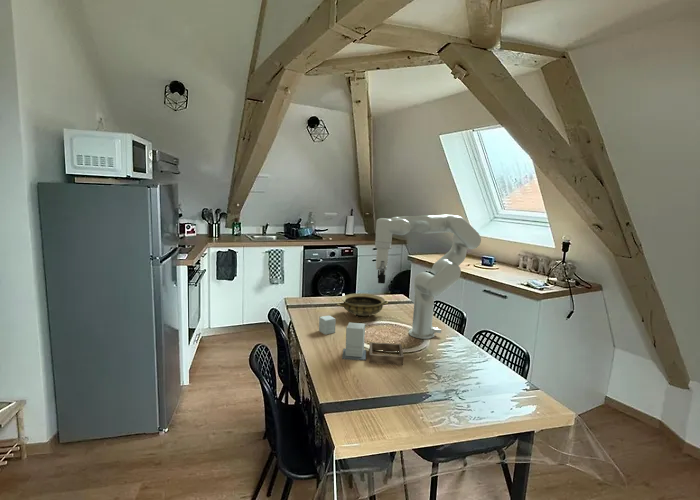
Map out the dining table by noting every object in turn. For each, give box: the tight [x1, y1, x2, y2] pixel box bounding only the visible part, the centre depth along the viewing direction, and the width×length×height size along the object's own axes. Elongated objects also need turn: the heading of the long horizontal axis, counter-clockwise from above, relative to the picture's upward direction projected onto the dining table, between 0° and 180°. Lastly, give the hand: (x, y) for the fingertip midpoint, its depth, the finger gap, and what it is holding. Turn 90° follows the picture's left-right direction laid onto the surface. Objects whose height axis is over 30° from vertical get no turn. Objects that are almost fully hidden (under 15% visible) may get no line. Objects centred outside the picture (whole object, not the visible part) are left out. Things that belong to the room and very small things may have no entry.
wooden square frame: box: [368, 341, 405, 366], centre depth 180 cm, size 14×14×4 cm
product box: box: [318, 315, 337, 336], centre depth 207 cm, size 6×6×7 cm
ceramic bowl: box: [336, 292, 389, 319], centre depth 233 cm, size 30×24×10 cm
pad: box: [341, 348, 367, 362], centre depth 181 cm, size 10×10×1 cm
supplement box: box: [345, 321, 366, 357], centre depth 180 cm, size 7×7×13 cm
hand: (381, 280), depth 198 cm, fingers open, 9 cm apart
